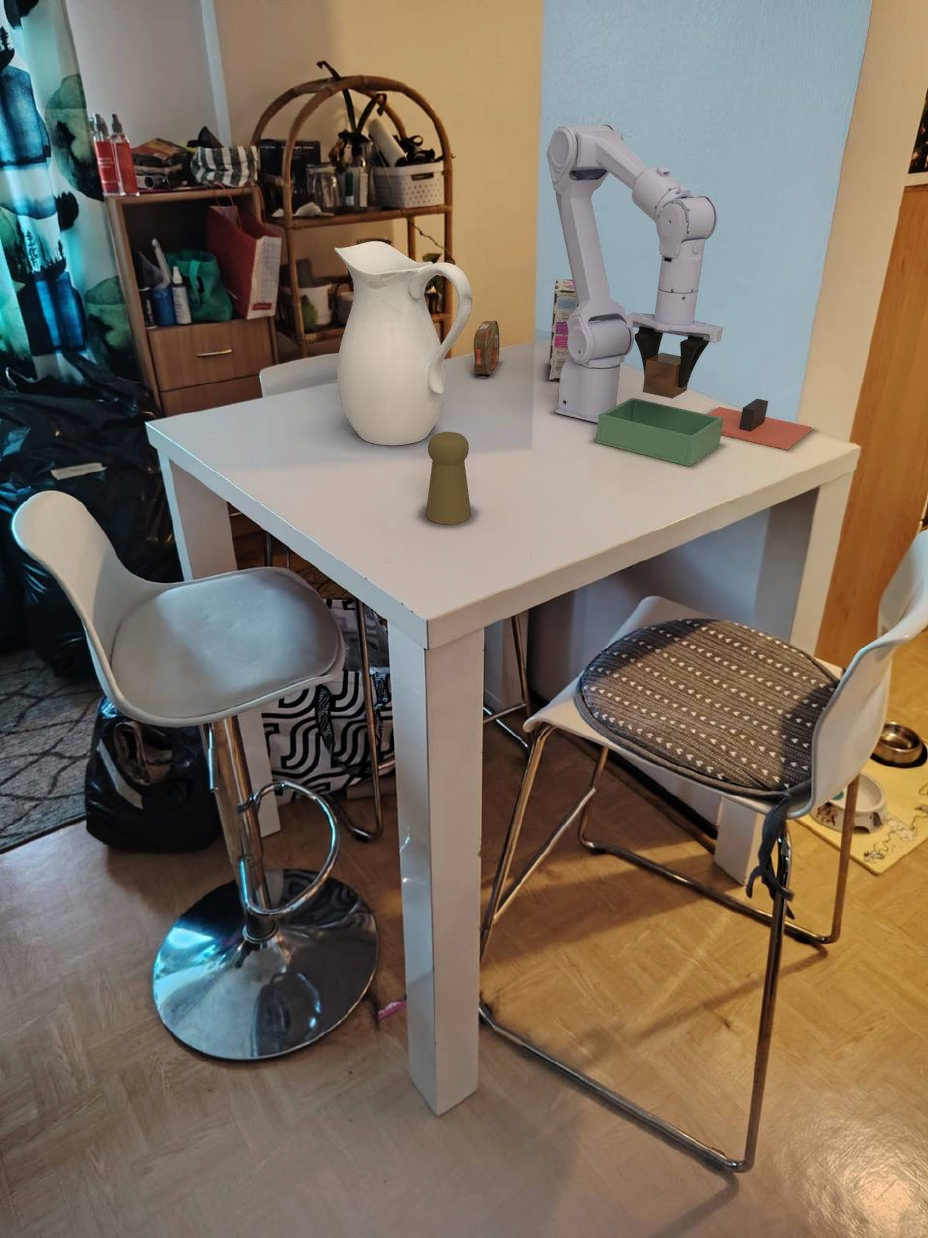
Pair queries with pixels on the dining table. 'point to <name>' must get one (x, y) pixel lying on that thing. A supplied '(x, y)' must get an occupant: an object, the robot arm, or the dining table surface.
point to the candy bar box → (561, 326)
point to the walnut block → (663, 376)
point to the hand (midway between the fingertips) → (665, 382)
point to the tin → (486, 347)
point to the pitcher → (394, 344)
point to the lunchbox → (660, 431)
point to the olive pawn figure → (448, 479)
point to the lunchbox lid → (760, 426)
